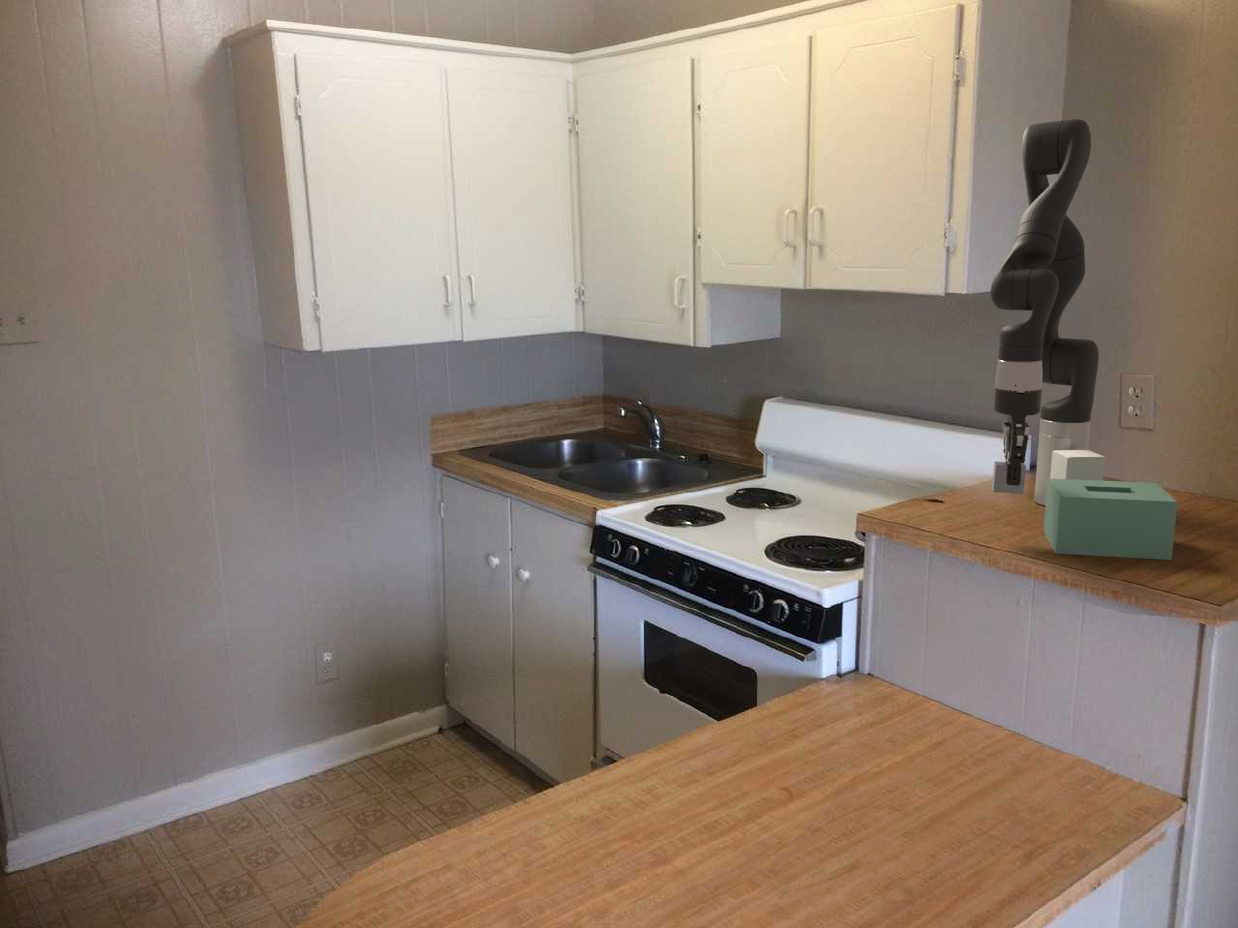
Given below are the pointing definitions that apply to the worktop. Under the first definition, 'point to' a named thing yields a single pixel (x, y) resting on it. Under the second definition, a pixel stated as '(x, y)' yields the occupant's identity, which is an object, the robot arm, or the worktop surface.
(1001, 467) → the block
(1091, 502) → the money box
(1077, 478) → the supplement box
